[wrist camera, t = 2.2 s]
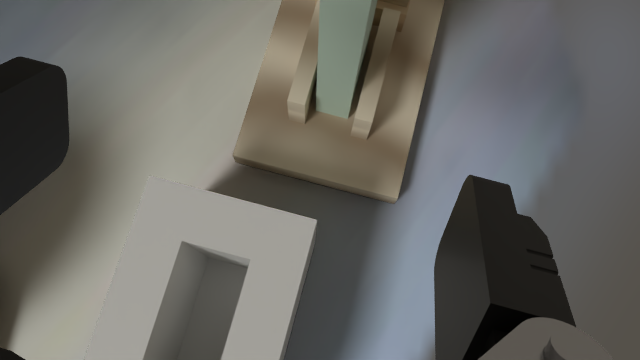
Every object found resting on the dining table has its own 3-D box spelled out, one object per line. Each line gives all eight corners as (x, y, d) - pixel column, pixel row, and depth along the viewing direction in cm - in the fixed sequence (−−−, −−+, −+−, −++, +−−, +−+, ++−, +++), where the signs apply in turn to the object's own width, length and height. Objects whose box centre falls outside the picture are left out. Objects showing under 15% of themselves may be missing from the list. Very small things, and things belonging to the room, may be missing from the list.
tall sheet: (347, 119, 33) (375, -20, 19) (315, 110, 33) (321, -34, 20) (367, 46, 34) (406, -133, 21) (336, 38, 34) (355, -145, 21)
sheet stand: (257, 456, 30) (239, 505, 22) (117, 416, 30) (51, 450, 22) (315, 243, 33) (317, 219, 25) (186, 208, 33) (149, 174, 25)
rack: (393, 203, 33) (406, 186, 29) (235, 162, 34) (225, 139, 29) (452, -45, 38) (471, -92, 33) (312, -79, 38) (312, -130, 34)
